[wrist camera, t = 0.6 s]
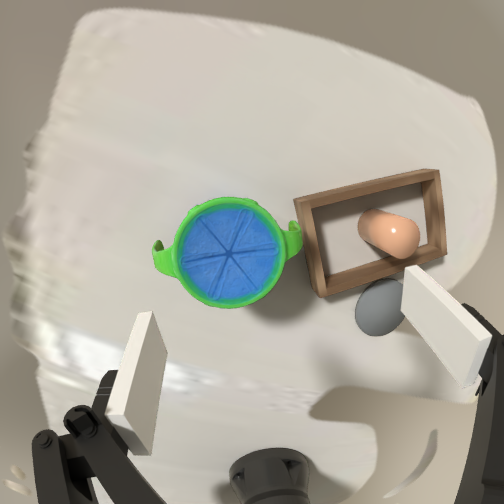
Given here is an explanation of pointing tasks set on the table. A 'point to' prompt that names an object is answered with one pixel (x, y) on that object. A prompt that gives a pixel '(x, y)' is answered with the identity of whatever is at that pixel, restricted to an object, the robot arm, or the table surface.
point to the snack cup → (228, 252)
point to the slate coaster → (380, 307)
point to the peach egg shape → (389, 232)
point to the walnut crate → (383, 266)
